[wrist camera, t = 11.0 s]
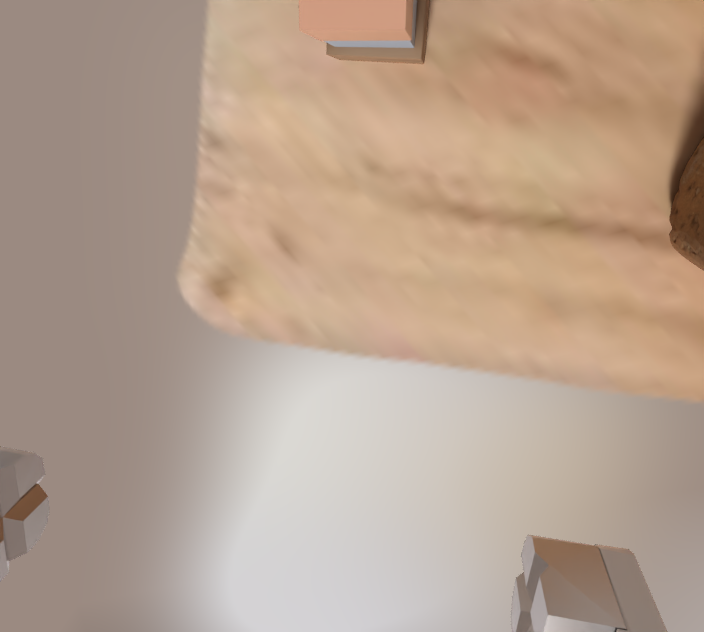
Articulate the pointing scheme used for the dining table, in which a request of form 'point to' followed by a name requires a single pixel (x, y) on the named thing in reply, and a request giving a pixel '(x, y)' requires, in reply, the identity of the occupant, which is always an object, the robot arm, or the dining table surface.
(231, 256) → the dining table surface
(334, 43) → the tower mid
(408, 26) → the cube
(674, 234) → the brown oval lump
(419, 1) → the tower base
